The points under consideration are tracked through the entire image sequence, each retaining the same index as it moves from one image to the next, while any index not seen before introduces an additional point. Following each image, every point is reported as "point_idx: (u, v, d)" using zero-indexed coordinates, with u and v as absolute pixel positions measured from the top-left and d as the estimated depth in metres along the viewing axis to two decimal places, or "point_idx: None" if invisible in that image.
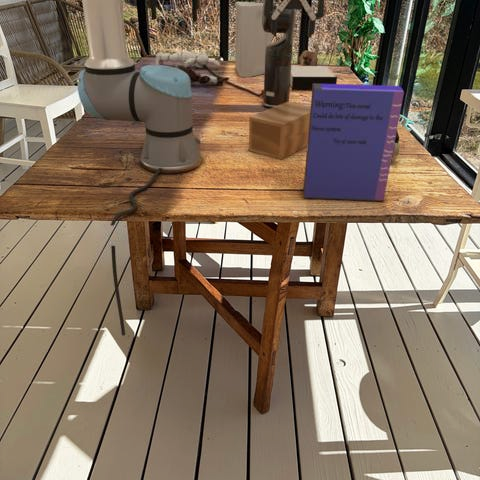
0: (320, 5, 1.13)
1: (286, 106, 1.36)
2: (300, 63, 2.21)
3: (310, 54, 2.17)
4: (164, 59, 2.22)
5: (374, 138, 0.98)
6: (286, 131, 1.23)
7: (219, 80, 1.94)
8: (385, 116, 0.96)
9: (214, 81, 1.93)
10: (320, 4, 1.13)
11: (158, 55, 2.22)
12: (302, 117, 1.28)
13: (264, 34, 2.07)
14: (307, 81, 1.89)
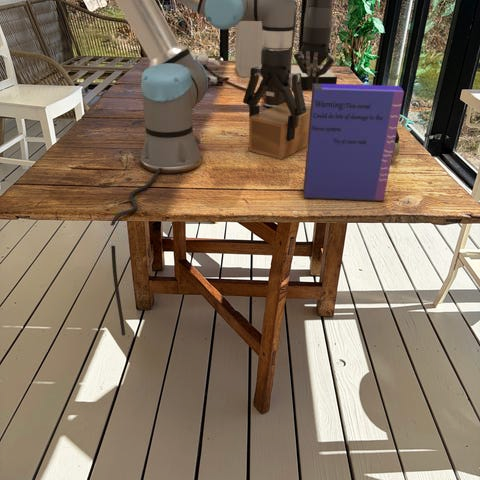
0: (323, 67, 1.32)
1: (286, 106, 1.36)
2: None
3: None
4: None
5: (374, 138, 0.98)
6: (286, 131, 1.23)
7: (219, 80, 1.94)
8: (385, 116, 0.96)
9: (214, 81, 1.93)
10: (324, 66, 1.32)
11: None
12: (302, 117, 1.28)
13: None
14: None
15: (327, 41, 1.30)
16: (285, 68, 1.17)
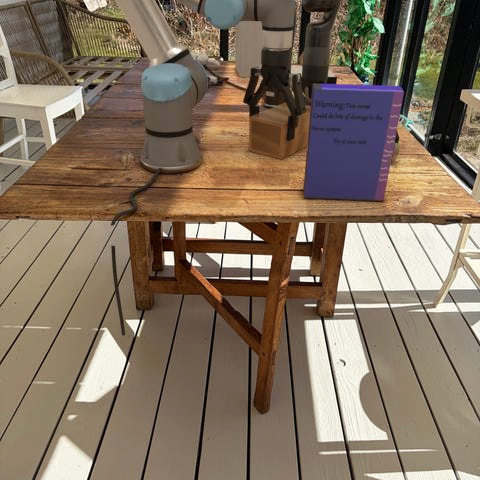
0: None
1: (286, 106, 1.36)
2: (300, 63, 2.21)
3: None
4: None
5: (374, 138, 0.98)
6: (286, 131, 1.23)
7: (219, 80, 1.94)
8: (385, 116, 0.96)
9: (214, 81, 1.93)
10: None
11: None
12: (302, 117, 1.28)
13: None
14: None
15: (325, 78, 1.35)
16: (285, 68, 1.17)
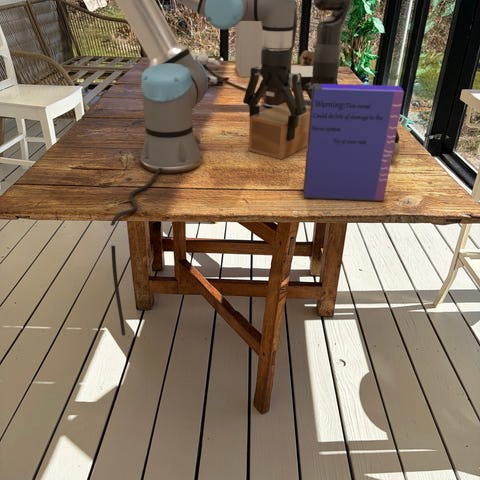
0: None
1: (287, 106, 1.36)
2: (300, 63, 2.21)
3: (310, 54, 2.17)
4: None
5: (374, 138, 0.98)
6: (286, 131, 1.23)
7: (219, 80, 1.94)
8: (385, 116, 0.96)
9: (214, 81, 1.93)
10: None
11: None
12: (302, 117, 1.28)
13: None
14: (307, 81, 1.89)
15: (335, 74, 1.40)
16: (285, 68, 1.17)
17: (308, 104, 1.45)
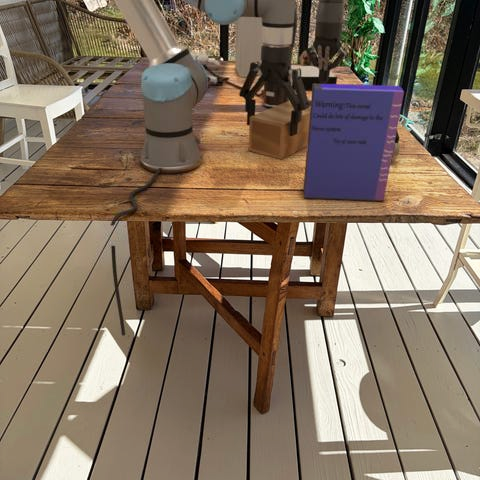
0: (335, 61, 1.37)
1: (286, 106, 1.36)
2: (300, 63, 2.21)
3: None
4: None
5: (374, 138, 0.98)
6: (286, 131, 1.23)
7: (219, 80, 1.94)
8: (385, 116, 0.96)
9: (214, 81, 1.93)
10: (335, 60, 1.37)
11: None
12: (302, 117, 1.28)
13: None
14: (307, 81, 1.89)
15: (339, 35, 1.34)
16: (285, 65, 1.17)
17: None
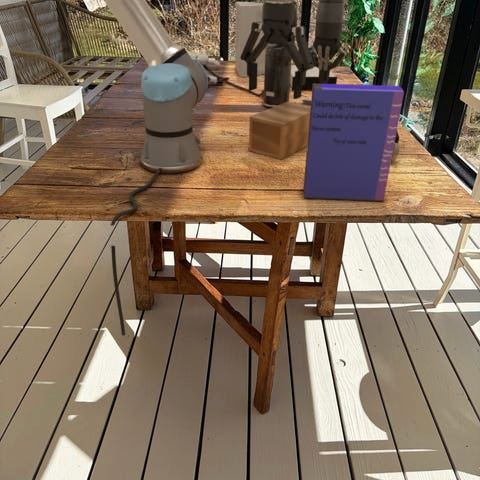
0: (335, 61, 1.37)
1: (286, 106, 1.36)
2: None
3: None
4: None
5: (374, 138, 0.98)
6: (286, 131, 1.23)
7: (219, 80, 1.94)
8: (385, 116, 0.96)
9: (214, 81, 1.93)
10: (335, 60, 1.37)
11: None
12: (302, 117, 1.28)
13: None
14: (307, 81, 1.89)
15: (339, 35, 1.34)
16: (288, 22, 1.12)
17: (308, 104, 1.45)
